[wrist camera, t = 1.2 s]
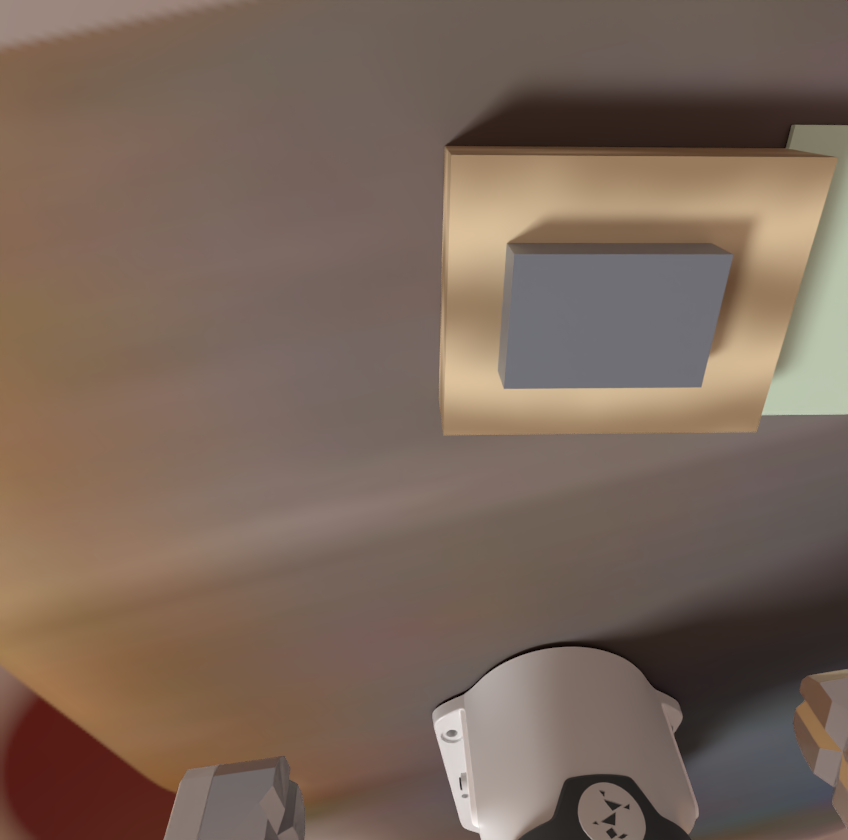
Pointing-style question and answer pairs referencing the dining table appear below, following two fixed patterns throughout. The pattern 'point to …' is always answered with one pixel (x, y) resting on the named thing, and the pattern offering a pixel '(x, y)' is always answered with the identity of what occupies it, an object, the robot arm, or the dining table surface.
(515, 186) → the square wooden plank
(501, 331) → the grey flat block
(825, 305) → the mat
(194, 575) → the dining table surface
